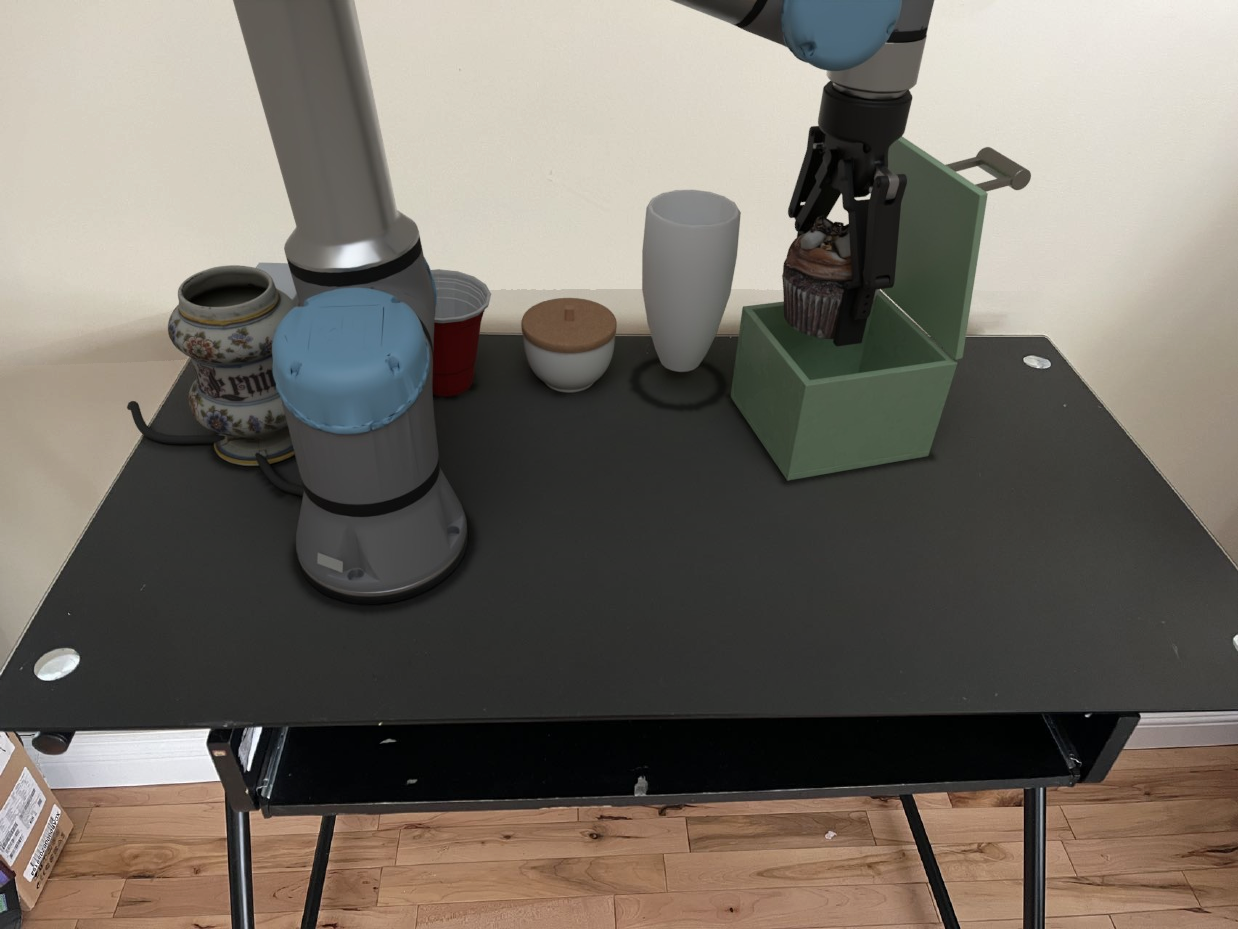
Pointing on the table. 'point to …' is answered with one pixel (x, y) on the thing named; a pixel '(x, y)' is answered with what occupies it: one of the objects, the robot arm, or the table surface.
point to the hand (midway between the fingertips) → (823, 316)
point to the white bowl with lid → (569, 342)
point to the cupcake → (817, 278)
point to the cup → (687, 272)
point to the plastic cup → (456, 330)
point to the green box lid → (943, 236)
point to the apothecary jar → (234, 359)
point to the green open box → (840, 391)
